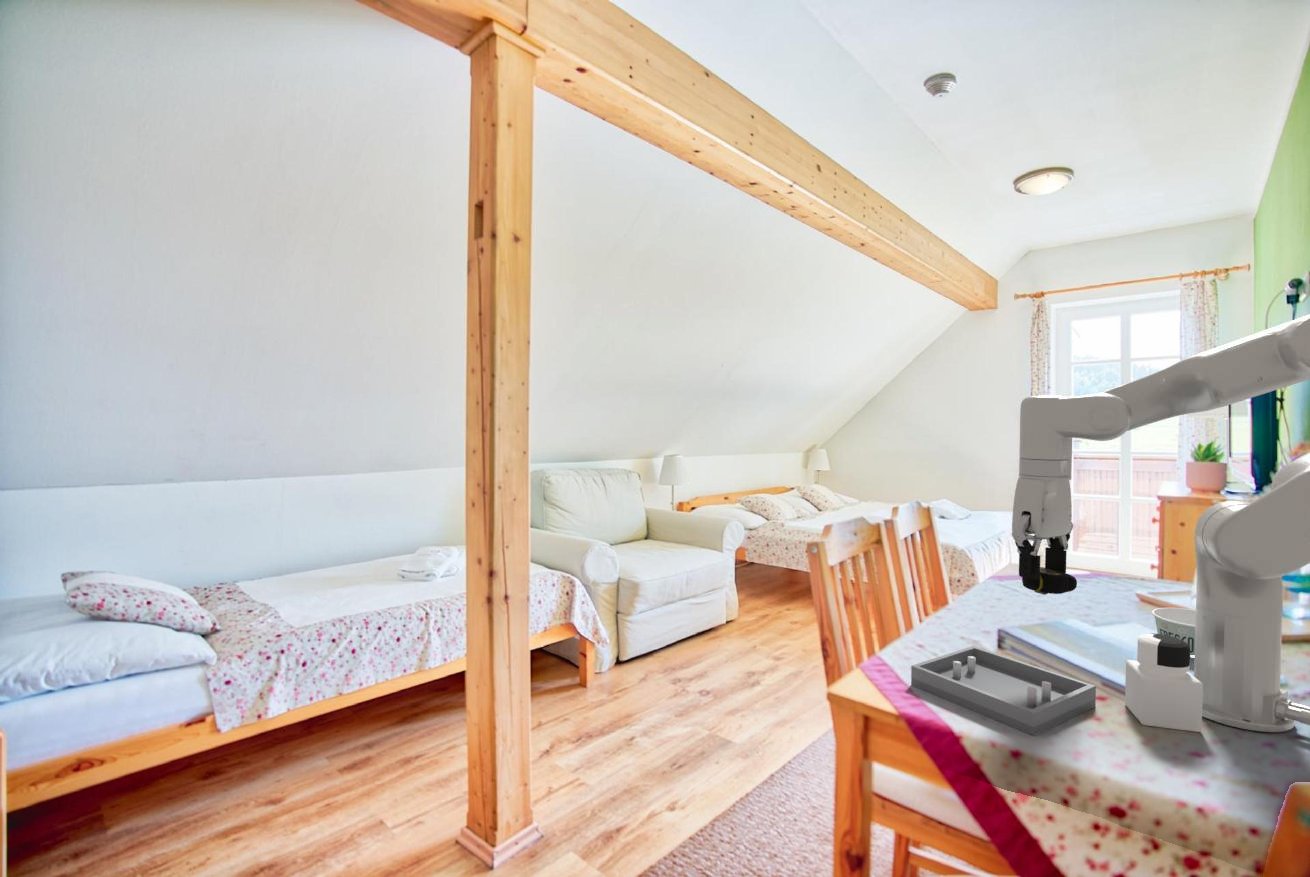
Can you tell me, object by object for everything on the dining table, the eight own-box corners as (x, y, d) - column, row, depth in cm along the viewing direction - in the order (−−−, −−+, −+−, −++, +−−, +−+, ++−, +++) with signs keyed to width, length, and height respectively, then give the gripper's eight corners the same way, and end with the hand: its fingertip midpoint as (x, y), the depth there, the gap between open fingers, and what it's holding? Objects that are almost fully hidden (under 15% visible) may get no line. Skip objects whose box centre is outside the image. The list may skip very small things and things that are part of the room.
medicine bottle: (1180, 711, 97) (1182, 632, 97) (1202, 733, 90) (1205, 649, 90) (1124, 704, 99) (1125, 627, 99) (1142, 725, 93) (1143, 643, 92)
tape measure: (1079, 596, 106) (1079, 573, 106) (1046, 599, 104) (1047, 576, 104) (1043, 585, 113) (1044, 564, 112) (1011, 588, 111) (1012, 566, 111)
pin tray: (1095, 706, 99) (1095, 682, 99) (1034, 735, 90) (1034, 709, 90) (972, 663, 116) (973, 643, 116) (911, 684, 107) (911, 662, 107)
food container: (1243, 654, 120) (1244, 619, 119) (1221, 669, 113) (1222, 632, 113) (1164, 636, 130) (1165, 603, 129) (1140, 648, 123) (1141, 614, 123)
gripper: (1051, 465, 116) (1048, 564, 116) (991, 470, 107) (989, 576, 108) (1096, 468, 109) (1094, 573, 110) (1037, 474, 100) (1035, 587, 101)
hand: (1042, 574), depth 109 cm, fingers closed on tape measure, 7 cm apart
